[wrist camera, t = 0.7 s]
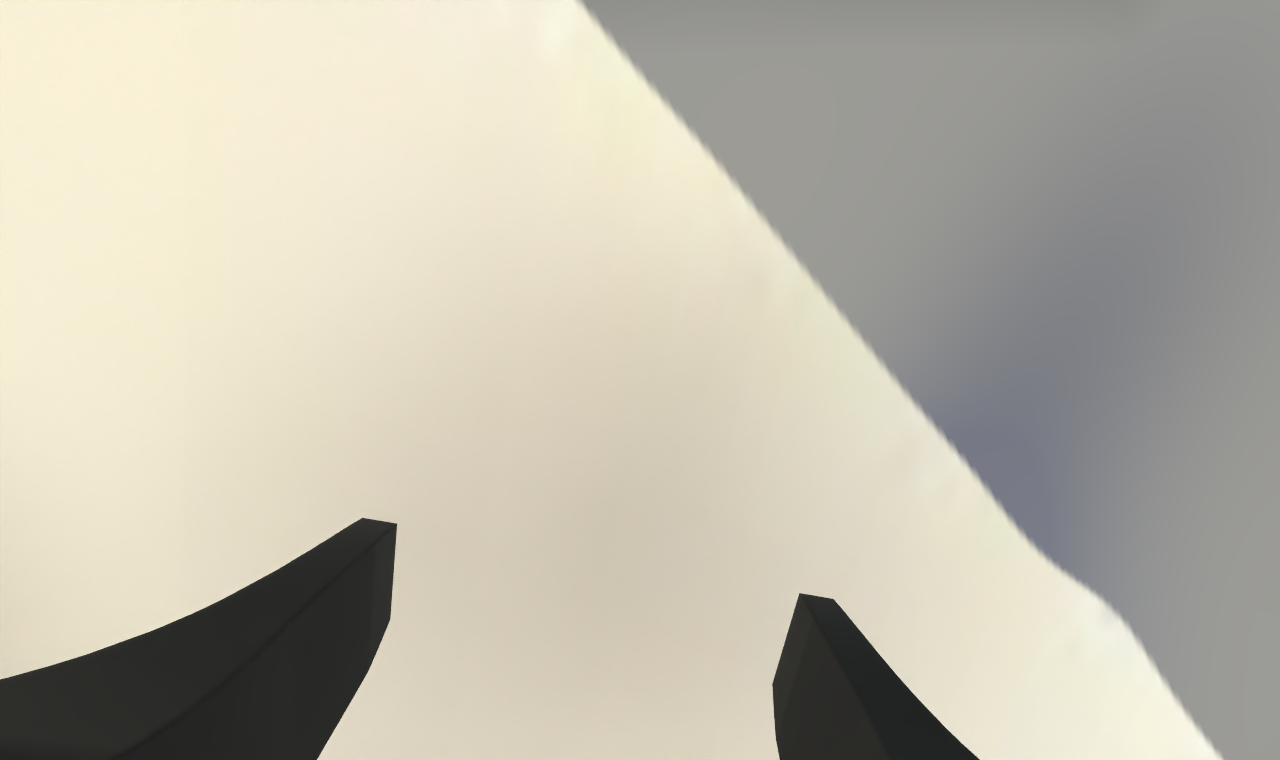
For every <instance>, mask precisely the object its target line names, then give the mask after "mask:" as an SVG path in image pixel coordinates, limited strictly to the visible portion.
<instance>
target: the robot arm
mask: <svg viewBox="0 0 1280 760" xmlns="http://www.w3.org/2000/svg"><path fill="white" fill-rule="evenodd" d="M396 531H397V524H395V523H389V522H384V521H378V520H372V519H366V518H362V519H360V520H358V521H356V522H355V523H353V524H351V525H350V526H348V527H347V528H345V529H343V530H342V531H340V532H339V533H337V534H335V535H334V536H332V537H331V538H329V539H327V540H326V541H324V542H323V543H321V544H319V545H318V546H316V547H315V548H313V549H311V550H310V551H308V552H306V553H305V554H303V555H301V556H300V557H298V558H296V559H295V560H293V561H291V562H290V563H288V564H286V565H285V566H283V567H281V568H280V569H278V570H276V571H274V572H273V573H271V574H269V575H267V576H265V577H263V578H262V579H260V580H258V581H256V582H254V583H252V584H250V585H249V586H247V587H245V588H243V589H241V590H239V591H237V592H236V593H234V594H232V595H230V596H228V597H226V598H224V599H222V600H220V601H218V602H216V603H214V604H212V605H210V606H208V607H206V608H204V609H202V610H199V611H197V612H195V613H193V614H191V615H188V616H186V617H184V618H181V619H179V620H177V621H174V622H172V623H170V624H168V625H165V626H163V627H160V628H158V629H156V630H153V631H151V632H148V633H145V634H142V635H140V636H137V637H134V638H131V639H129V640H126V641H123V642H120V643H118V644H115V645H112V646H109V647H106V648H104V649H101V650H98V651H95V652H93V653H90V654H87V655H84V656H81V657H78V658H74V659H71V660H68V661H65V662H61V663H58V664H55V665H51V666H48V667H45V668H41V669H38V670H34V671H30V672H27V673H23V674H19V675H16V676H12V677H9V678H5V679H1V680H0V760H317V758H318V757H319V755H320V753H321V752H322V750H323V748H324V747H325V745H326V743H327V741H328V740H329V738H330V736H331V735H332V733H333V731H334V729H335V728H336V726H337V724H338V723H339V721H340V719H341V718H342V716H343V714H344V712H345V711H346V709H347V707H348V706H349V704H350V702H351V700H352V699H353V697H354V695H355V693H356V692H357V690H358V688H359V686H360V685H361V683H362V681H363V679H364V678H365V676H366V674H367V672H368V671H369V668H370V666H371V664H372V661H373V659H374V657H375V655H376V652H377V650H378V648H379V645H380V643H381V640H382V638H383V636H384V633H385V631H386V628H387V626H388V623H389V621H390V615H391V601H392V587H393V573H394V559H395V545H396ZM773 702H774V718H775V731H776V741H777V747H778V752H779V758H780V760H979V759H978V758H977V757H976V756H975V755H974V754H973V753H972V752H971V751H969V750H968V749H967V748H966V747H965V746H964V745H963V744H962V743H961V742H960V741H959V740H958V739H957V738H956V737H955V736H953V735H952V734H951V733H950V732H949V731H948V730H947V729H946V728H945V727H944V726H943V725H942V724H941V723H940V721H939V720H938V719H937V718H936V717H935V716H934V715H933V714H932V713H931V712H930V711H929V710H928V709H927V708H926V707H925V706H924V705H923V704H922V703H921V702H920V701H919V700H918V698H917V697H916V696H915V695H914V694H913V693H912V692H911V691H910V690H909V688H908V687H907V686H906V685H905V684H904V683H903V682H902V681H901V679H900V678H899V677H898V676H897V675H896V674H895V673H894V671H893V670H892V669H891V668H890V667H889V665H888V664H887V663H886V662H885V661H884V660H883V658H882V657H881V656H880V655H879V654H878V652H877V651H876V650H875V649H874V648H873V646H872V645H871V644H870V643H869V641H868V640H867V639H866V638H865V637H864V635H863V634H862V633H861V632H860V630H859V629H858V628H857V627H856V625H855V624H854V623H853V622H852V621H851V619H850V618H849V617H848V616H847V614H846V613H845V612H844V611H843V610H842V608H841V607H840V606H839V605H838V604H837V603H836V601H835V600H834V599H830V598H824V597H819V596H813V595H807V594H801V593H799V597H798V600H797V603H796V607H795V610H794V614H793V617H792V620H791V624H790V627H789V630H788V634H787V637H786V640H785V644H784V647H783V651H782V654H781V657H780V661H779V664H778V667H777V671H776V674H775V677H774V681H773Z"/></svg>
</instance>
